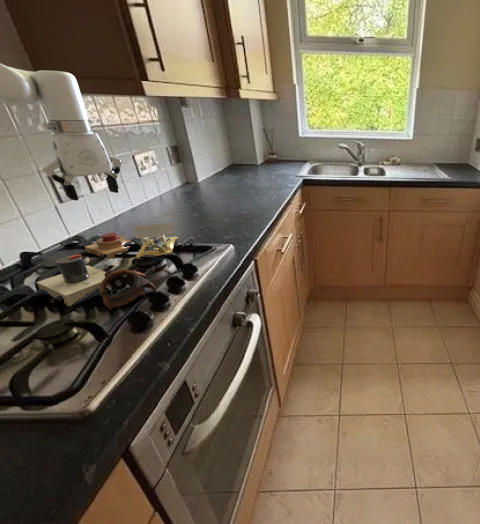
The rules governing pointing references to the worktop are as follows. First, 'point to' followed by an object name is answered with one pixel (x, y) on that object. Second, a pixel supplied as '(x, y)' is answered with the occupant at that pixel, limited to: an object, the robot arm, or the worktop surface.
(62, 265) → the dial
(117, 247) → the button block
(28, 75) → the robot arm
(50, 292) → the panel
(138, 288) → the pottery mug
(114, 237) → the button
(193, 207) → the worktop surface
